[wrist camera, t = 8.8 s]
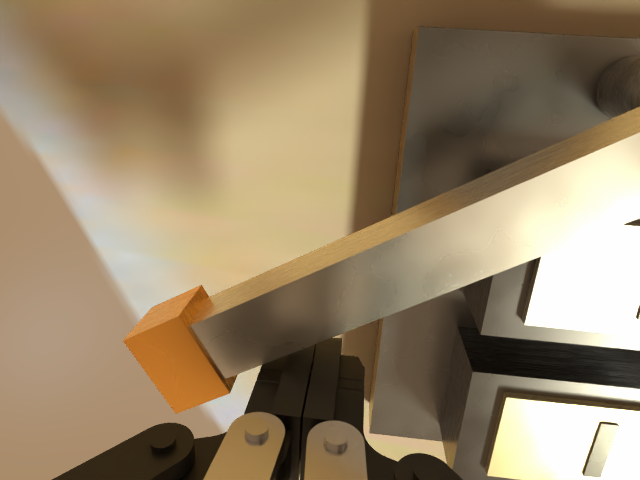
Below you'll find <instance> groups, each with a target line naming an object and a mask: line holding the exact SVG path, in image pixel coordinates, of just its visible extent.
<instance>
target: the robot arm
mask: <svg viewBox="0 0 640 480" xmlns="http://www.w3.org/2000/svg"><path fill="white" fill-rule="evenodd" d="M341 347H342V338H329V339H327V340H324V341H322V342H319V343H316V344H314V345H311V346H309V347H306V348H304V349H301V350H298V351H296V352H293V353H291V354H288V355H286V356H283V357H280V358H278V359H275V360H273V361H270V362H268V363H265V364H262V366H261V369H260V372H259V375H258V377H257V381H256V383H255V386H254V388H253V391H252V394H251V397H250V399H249V402H248V405H247V408H246V410H245V413H244V415H242V416H240V417H239V418H237V419H236V420H235V421H234V422H233V423H232V424H231V426H230V427H229V429H228V431H227V432H225V433H223V434H220V435H217V436H212V437H205V438H197V439H194V436H193V434H192V432H191V431H190V429H188V428H187V427H186V426H184V425H181V424H177V423H164V424H159V425H155V426H153V427H151V428H149V429H147V430H145V431H143V432H141V433H139V434H137V435H135V436H134V437H132V438H130V439H128V440H126V441H124V442H122V443H120V444H118V445H117V446H115V447H113V448H111V449H109V450H107V451H105V452H103V453H102V454H100V455H98V456H96V457H94V458H92V459H90V460H88V461H86V462H85V463H83V464H81V465H79V466H77V467H75V468H73V469H71V470H69V471H68V472H66V473H64V474H62V475H60V476H58V477H56V478H54V479H52V480H299V477H300V480H463V479H462V478H461V477H460V476H459V475H458V474H457V473H455V472H454V471H453V470H452V469H451V468H450V467H449V466H448V465H447V464H446V463H444V462H443V461H442V460H440V459H438V458H436V457H434V456H431V455H428V454H422V453H415V454H409V455H407V456H405V457H403V458H401V459H400V460H399V461H398V462H397V461H395V460H392V459H390V458H387V457H385V456H383V455H381V454H379V453H378V452H376V451H375V450H374V449H373V448H372V447H371V446H370V445H369V444H368V442H367V441H366V439H365V436H364V432H363V418H364V373H365V368H364V366H363V365H362V363H361V361H360V360H359V358H358V357H355V356H345V355H341Z"/></svg>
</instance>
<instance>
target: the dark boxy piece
mask: <svg viewBox="0 0 640 480" xmlns="http://www.w3.org/2000/svg"><path fill="white" fill-rule="evenodd" d="M637 107H640V39H637V38H619V37H601V36H583V35H565V34H547V33H528V32H510V31H492V30H474V29H456V28H438V27H420V26H419V27H418V28H416V29H415V30H413V37H412V46H411V54H410V63H409V71H408V80H407V88H406V97H405V105H404V114H403V122H402V131H401V139H400V148H399V156H398V165H397V173H396V181H395V190H394V198H393V207H392V215H391V216H393V215H396V214H398V213H400V212H402V211H405V210H407V209H409V208H411V207H414V206H416V205H418V204H420V203H423V202H425V201H427V200H429V199H432V198H434V197H436V196H439V195H441V194H443V193H445V192H448V191H450V190H452V189H454V188H457V187H459V186H461V185H463V184H466V183H468V182H470V181H472V180H475V179H477V178H479V177H481V176H484V175H486V174H488V173H490V172H493V171H495V170H497V169H500V168H502V167H504V166H506V165H509V164H511V163H513V162H515V161H518V160H520V159H522V158H524V157H527V156H529V155H531V154H533V153H536V152H538V151H540V150H542V149H545V148H547V147H549V146H551V145H554V144H556V143H558V142H561V141H563V140H565V139H567V138H570V137H572V136H574V135H576V134H579V133H581V132H583V131H585V130H588V129H590V128H592V127H594V126H597V125H599V124H601V123H603V122H606V121H608V120H610V119H612V118H615V117H617V116H619V115H621V114H624V113H626V112H628V111H631V110H633V109H635V108H637ZM369 426H370V433H373V434H382V435H391V436H399V437H408V438H417V439H426V440H435V441H443V446H444V451H445V456H446V461H447V465H448V466H449V467H450V468H451V469H452V470H453V471H454V472H455V473H457V474H458V475H459V476H460V477H461V478H462V479H463V480H640V218H639V219H636V220H634V221H631V222H628V223H626V224H623V225H621V226H618V227H615V228H613V229H610V230H608V231H605V232H603V233H600V234H597V235H595V236H592V237H590V238H587V239H585V240H582V241H579V242H577V243H574V244H572V245H569V246H567V247H564V248H561V249H559V250H556V251H554V252H551V253H548V254H546V255H543V256H541V257H538V258H536V259H533V260H530V261H528V262H525V263H523V264H520V265H518V266H515V267H512V268H510V269H507V270H505V271H502V272H499V273H497V274H494V275H492V276H489V277H487V278H484V279H481V280H479V281H476V282H474V283H471V284H469V285H466V286H463V287H461V288H458V289H456V290H453V291H451V292H448V293H445V294H443V295H440V296H438V297H435V298H432V299H430V300H427V301H425V302H422V303H420V304H417V305H414V306H412V307H409V308H407V309H404V310H402V311H399V312H396V313H394V314H391V315H389V316H386V317H383V318H381V319H379V326H378V334H377V343H376V351H375V360H374V368H373V376H372V385H371V393H370V402H369Z"/></svg>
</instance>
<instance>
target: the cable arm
mask: <svg viewBox="0 0 640 480" xmlns="http://www.w3.org/2000/svg"><path fill="white" fill-rule="evenodd" d="M639 218H640V107H637V108H635V109H633V110H631V111H628V112H626V113H624V114H621V115H619V116H617V117H615V118H612V119H610V120H608V121H606V122H603V123H601V124H599V125H597V126H594V127H592V128H590V129H588V130H585V131H583V132H581V133H579V134H576V135H574V136H572V137H570V138H567V139H565V140H563V141H561V142H558V143H556V144H554V145H551V146H549V147H547V148H545V149H542V150H540V151H538V152H536V153H533V154H531V155H529V156H527V157H524V158H522V159H520V160H518V161H515V162H513V163H511V164H509V165H506V166H504V167H502V168H500V169H497V170H495V171H493V172H490V173H488V174H486V175H484V176H481V177H479V178H477V179H475V180H472V181H470V182H468V183H466V184H463V185H461V186H459V187H457V188H454V189H452V190H450V191H448V192H445V193H443V194H441V195H439V196H436V197H434V198H432V199H429V200H427V201H425V202H423V203H420V204H418V205H416V206H414V207H411V208H409V209H407V210H405V211H402V212H400V213H398V214H396V215H393V216H391V217H389V218H387V219H384V220H382V221H380V222H378V223H375V224H373V225H371V226H368V227H366V228H364V229H362V230H359V231H357V232H355V233H353V234H350V235H348V236H346V237H344V238H341V239H339V240H337V241H335V242H332V243H330V244H328V245H326V246H323V247H321V248H319V249H317V250H314V251H312V252H310V253H308V254H305V255H303V256H301V257H298V258H296V259H294V260H292V261H289V262H287V263H285V264H283V265H280V266H278V267H276V268H274V269H271V270H269V271H267V272H265V273H262V274H260V275H258V276H256V277H253V278H251V279H249V280H247V281H244V282H242V283H240V284H237V285H235V286H233V287H231V288H228V289H226V290H224V291H222V292H219V293H217V294H215V295H213V296H210V297H209V296H208V294H207V293H206V291H205V290H204V288H203V287H202V285H200V286H198V287H196V288H194V289H192V290H189V291H187V292H185V293H183V294H180V295H178V296H176V297H174V298H172V299H169V300H167V301H165V302H163V303H161V304H158V305H156V306H154V307H152V308H151V309H150V310H149V311H148V313H147V314H146V315H145V316H144V317H143V318H142V319H141V321H140V322H139V323H138V324H137V325H136V326H135V327H134V329H133V330H132V331H131V332H130V333H129V334H128V335H127V336H126V338H125V339H124V340H123V341H124V343H125V344H126V346H127V347H128V348H129V350H130V351H131V352H132V354H133V355H134V357H135V358H136V359H137V361H138V362H139V363H140V365H141V366H142V368H143V369H144V370H145V372H146V373H147V375H148V376H149V377H150V379H151V380H152V381H153V383H154V384H155V386H156V387H157V388H158V390H159V391H160V392H161V394H162V395H163V396H164V398H165V399H166V401H167V402H168V403H169V405H170V406H171V408H172V409H173V410H174V412H175V413H179V412H181V411H184V410H187V409H190V408H192V407H195V406H197V405H200V404H203V403H205V402H208V401H211V400H213V399H216V398H219V397H221V396H224V395H227V394H229V393H230V392H231V389H232V387H233V384H234V382H235V380H236V377H237V375H238V374H239V373H242V372H244V371H247V370H249V369H252V368H255V367H257V366H260V365H262V364H265V363H268V362H270V361H273V360H275V359H278V358H280V357H283V356H286V355H288V354H291V353H293V352H296V351H298V350H301V349H304V348H306V347H309V346H311V345H314V344H316V343H319V342H322V341H324V340H327V339H329V338H332V337H335V336H337V335H340V334H342V333H345V332H347V331H350V330H353V329H355V328H358V327H360V326H363V325H365V324H368V323H371V322H373V321H376V320H378V319H381V318H383V317H386V316H389V315H391V314H394V313H396V312H399V311H402V310H404V309H407V308H409V307H412V306H414V305H417V304H420V303H422V302H425V301H427V300H430V299H432V298H435V297H438V296H440V295H443V294H445V293H448V292H451V291H453V290H456V289H458V288H461V287H463V286H466V285H469V284H471V283H474V282H476V281H479V280H481V279H484V278H487V277H489V276H492V275H494V274H497V273H499V272H502V271H505V270H507V269H510V268H512V267H515V266H518V265H520V264H523V263H525V262H528V261H530V260H533V259H536V258H538V257H541V256H543V255H546V254H548V253H551V252H554V251H556V250H559V249H561V248H564V247H567V246H569V245H572V244H574V243H577V242H579V241H582V240H585V239H587V238H590V237H592V236H595V235H597V234H600V233H603V232H605V231H608V230H610V229H613V228H615V227H618V226H621V225H623V224H626V223H628V222H631V221H634V220H636V219H639Z"/></svg>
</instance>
